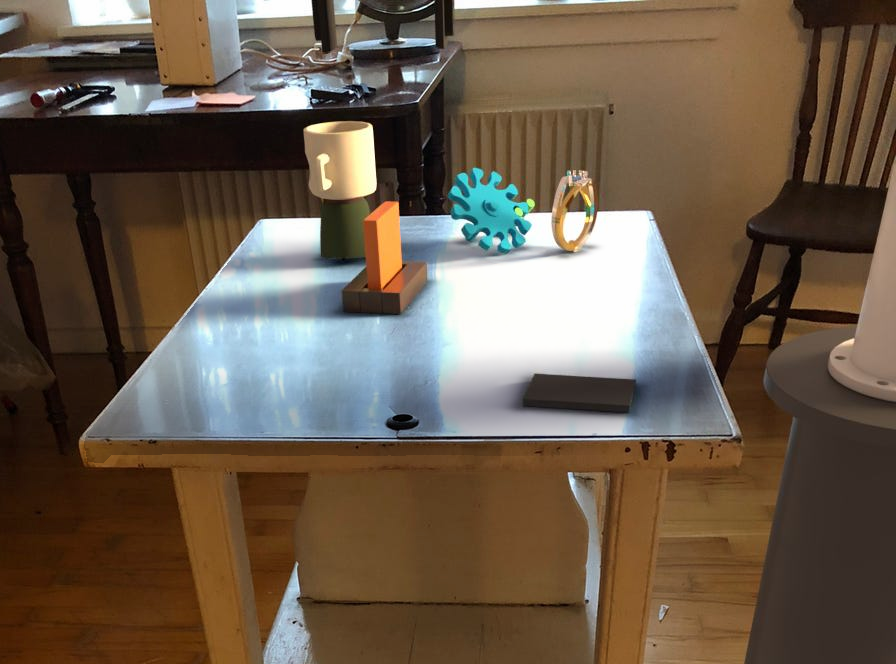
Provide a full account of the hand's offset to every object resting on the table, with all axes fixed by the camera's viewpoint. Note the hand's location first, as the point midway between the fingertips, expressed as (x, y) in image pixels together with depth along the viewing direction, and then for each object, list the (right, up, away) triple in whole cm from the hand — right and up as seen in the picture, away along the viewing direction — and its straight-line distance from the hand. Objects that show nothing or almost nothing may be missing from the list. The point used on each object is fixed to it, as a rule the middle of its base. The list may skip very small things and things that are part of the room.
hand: (385, 48), depth 82 cm
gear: (+11, -6, +26) cm, 29 cm away
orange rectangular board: (0, -16, +14) cm, 21 cm away
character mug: (-5, -8, +25) cm, 27 cm away
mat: (+15, -31, -7) cm, 36 cm away
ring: (+20, -8, +23) cm, 31 cm away
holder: (0, -16, +14) cm, 21 cm away
